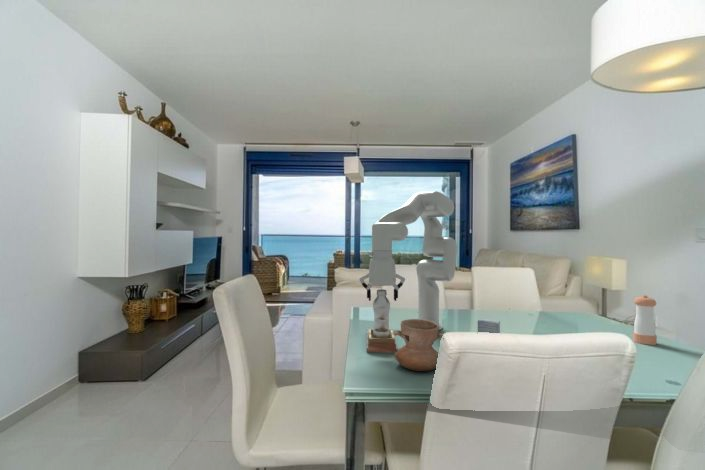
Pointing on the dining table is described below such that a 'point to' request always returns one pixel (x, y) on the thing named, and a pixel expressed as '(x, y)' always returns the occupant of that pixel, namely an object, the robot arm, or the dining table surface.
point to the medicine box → (488, 326)
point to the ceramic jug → (418, 344)
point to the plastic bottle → (381, 315)
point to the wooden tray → (380, 346)
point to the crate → (381, 340)
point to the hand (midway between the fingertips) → (382, 300)
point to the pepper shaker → (644, 321)
